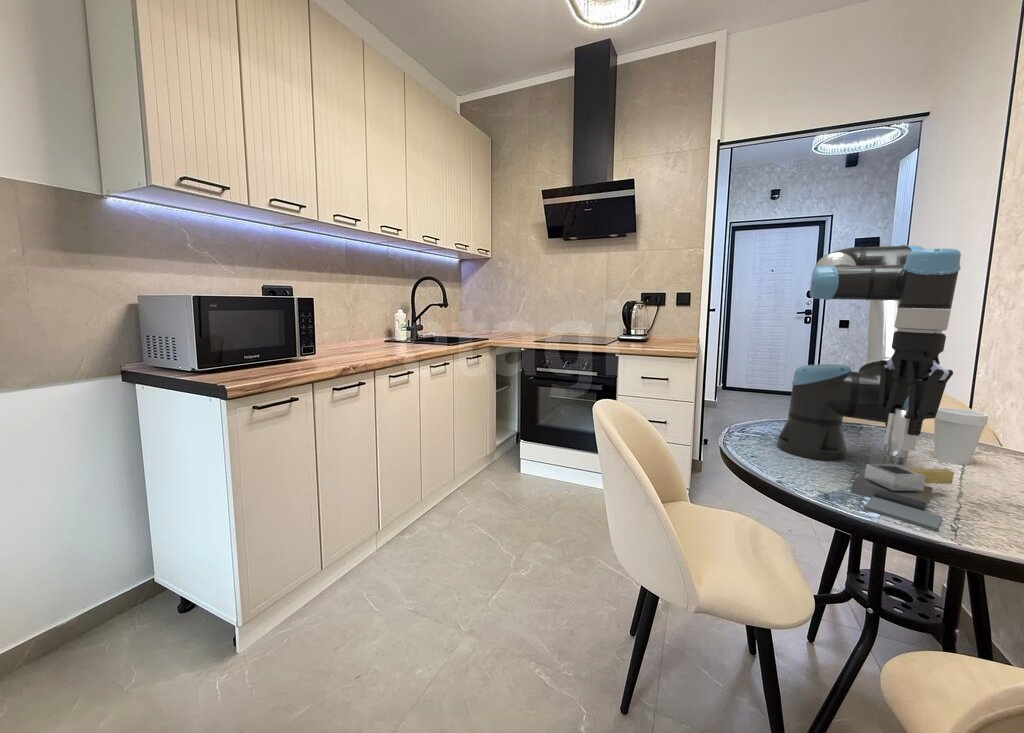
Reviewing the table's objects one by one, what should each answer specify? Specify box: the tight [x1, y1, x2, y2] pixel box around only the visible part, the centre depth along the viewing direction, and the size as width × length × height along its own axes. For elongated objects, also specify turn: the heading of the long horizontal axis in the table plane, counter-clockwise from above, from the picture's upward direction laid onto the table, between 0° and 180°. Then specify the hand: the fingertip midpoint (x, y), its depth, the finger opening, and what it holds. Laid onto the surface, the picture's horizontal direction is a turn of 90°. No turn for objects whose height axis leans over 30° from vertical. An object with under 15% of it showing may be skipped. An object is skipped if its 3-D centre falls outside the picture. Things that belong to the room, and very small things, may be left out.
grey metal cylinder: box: [886, 408, 910, 466], centre depth 86 cm, size 3×3×11 cm
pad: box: [863, 496, 944, 532], centre depth 79 cm, size 10×7×1 cm
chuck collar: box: [864, 463, 955, 491], centre depth 88 cm, size 15×6×3 cm, turn 93°
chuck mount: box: [850, 470, 934, 511], centre depth 88 cm, size 11×11×2 cm
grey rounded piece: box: [933, 406, 989, 466], centre depth 110 cm, size 10×9×13 cm
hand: (898, 446), depth 87 cm, fingers closed on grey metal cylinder, 2 cm apart
